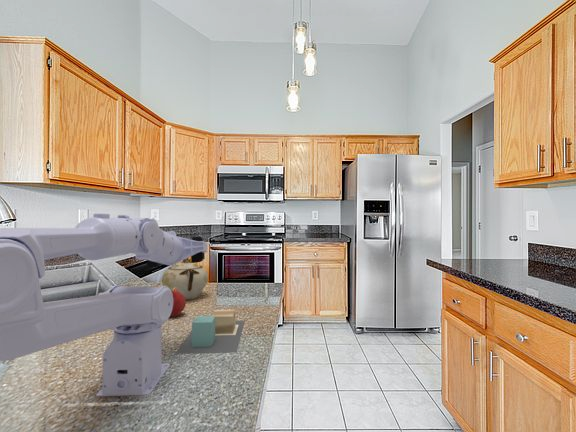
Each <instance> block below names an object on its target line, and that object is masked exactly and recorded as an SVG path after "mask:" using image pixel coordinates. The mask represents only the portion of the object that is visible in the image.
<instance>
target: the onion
mask: <svg viewBox="0 0 576 432" xmlns="http://www.w3.org/2000/svg"><path fill="white" fill-rule="evenodd" d="M171 292H172V295H173V308H172V312H171V315H170V317H171V318H172V317H173V318H175V317H178V316H179V315H180V314H182V312H183V311H184V310H185V308H186V304H187V301H186V300H185V297H184V296H183V295H182V294H181V293H180V292H178V291H177V288H173V290H172V291H171Z"/></svg>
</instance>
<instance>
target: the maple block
mask: <svg viewBox="0 0 576 432" xmlns="http://www.w3.org/2000/svg"><path fill="white" fill-rule="evenodd" d="M210 316H215V334H233V332H234V329H235V321H236V309H214V311H213V313H212V314H211V315H210Z"/></svg>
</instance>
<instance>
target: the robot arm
mask: <svg viewBox="0 0 576 432" xmlns="http://www.w3.org/2000/svg"><path fill="white" fill-rule="evenodd" d="M206 253H208V243H207V242H206V241H204V238H203V237H202V236H200V235H199V236H192V237H191V239H189V238H186V237H182V236H177V232H176V231H173V230H171V231H165V230H162V229H161V228H160V226H159V224H158V221H157V220H156V219H155V218H154V217H152V218H148V217H130V215H128V214H124V215H123V214H118V215H117V217H115V216H114V217H111V216H110V213H104V212H103V213H99V212H98V213H93V216H92V217H88V218H85V219H83V220H81V221H80V222H78V224H77V225H76V226H75V227H0V362H6V361H12V360H16V359H18V358H22V357H24V356H28V355H32V354H35V353H37V352H41V351H43V350H47V349H51V348H53V347H57V346H60V345H63V344H64V345H65V344H66V343H70V342H73V341H77V340H79V339H83V338H86V337H90V336H92V335H96V334H99V333H103V332H106V331H109V330H110V331H113V337H112V340H111V342H110V343H109V345H108V346H107V347H106V348H105V350H104V352H103V355H102V373H101V374H102V379H101V380H102V382H101V383H102V388H101V389H100V390H99V391H98V392H97V393H96V394H95V395H96V397H113V396H114V397H116V396H119V397H120V396H144V395H145V396H146V395H147V396H149V394H151V393H152V392H153V391H154V389H155V388H156V386H157V384H158V383H159V381H160V380H161V379H162V377H163V376H164V374H165V372H166V371H167V370H168V368H169V367H170V365H171V363H168V362H167V363H162V362H163V361H162V359H163V357H162V353H163V352H162V351H163V349H162V348H163V347H162V343H163V342H162V336H163V334H162V332H163V331H162V330H163V329H162V328H163V327H162V326H163V325H164V324H165V323H166V322H167V321H168V319H170V317H171V316H170V315H171V312H172V308H173V295H172V292H171V290H170V289H169V287H167V286H163V285H161V286H141V285H139V286H138V285H137V286H135V285H134V286H133V285H131V286H130V285H128V286H127V285H121V284H120V285H119V284H118V285H116V284H114V285H113V286H111V287H109V289H107V290H106V291H104V292H99V293H98V294H97V295H90V296H83V297H75V298H68V299H67V298H66V299H60V300H53V301H45V302H44V300H43V295H42V288H41V283H40V279H42V278H43V277H44V276H45V275H46V267H45V266H46V264H45V263H46V262H45V261H48V260H52V259H57V258H62V257H63V258H64V257H67V256H72V255H78V256H80V258H83V259H84V260H88V261H97V260H104V259H109V258H114V257H120V256H125V255H129V254H134V255H135V259H136V260H139V261H143V260H146V263H145V265H146V266H147V268H151V269H152V268H159V267H160V266H162V265H166V266H174V265H175V264H178V263H181V262H183V260H185V259H187V258H188V259H189V258H190V259H191V260H190V261H191V263H195V264H197V263H201V262H203V261H204V260H205V258H206V257H205V254H206Z"/></svg>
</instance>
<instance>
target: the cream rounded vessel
mask: <svg viewBox="0 0 576 432" xmlns="http://www.w3.org/2000/svg"><path fill="white" fill-rule="evenodd" d="M208 281H209V274H208V272H207V269H205V268H204V267H203V265H199V264H198V263H191V260H190V259H189V258H187V259H185V260H182V261H181V262H178V263H176V264H174V265H171V266H169V267H168V269H166V270H165V271H164V272H163V274H162V276H161V284H162V286H167V287H169V289H170V290H171V291H172V290H173V288H177V291H178V292H180V293H181V294H182V295H183V296H184V297H185V300H193V299H197V298H198V297H199V296H200V294H201V293H202V291H203V290H204V289H205V288H206V286H207V283H208Z"/></svg>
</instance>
